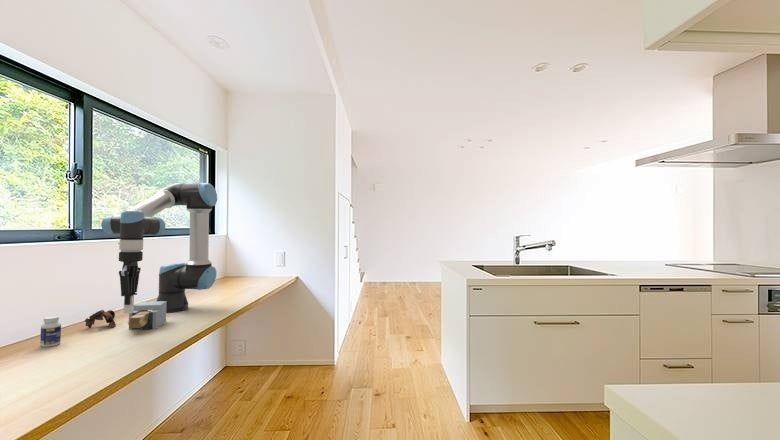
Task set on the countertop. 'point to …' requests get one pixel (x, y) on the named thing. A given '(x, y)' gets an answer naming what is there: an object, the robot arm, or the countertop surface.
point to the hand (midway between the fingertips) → (128, 312)
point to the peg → (139, 319)
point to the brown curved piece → (101, 318)
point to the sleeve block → (151, 313)
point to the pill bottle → (50, 332)
